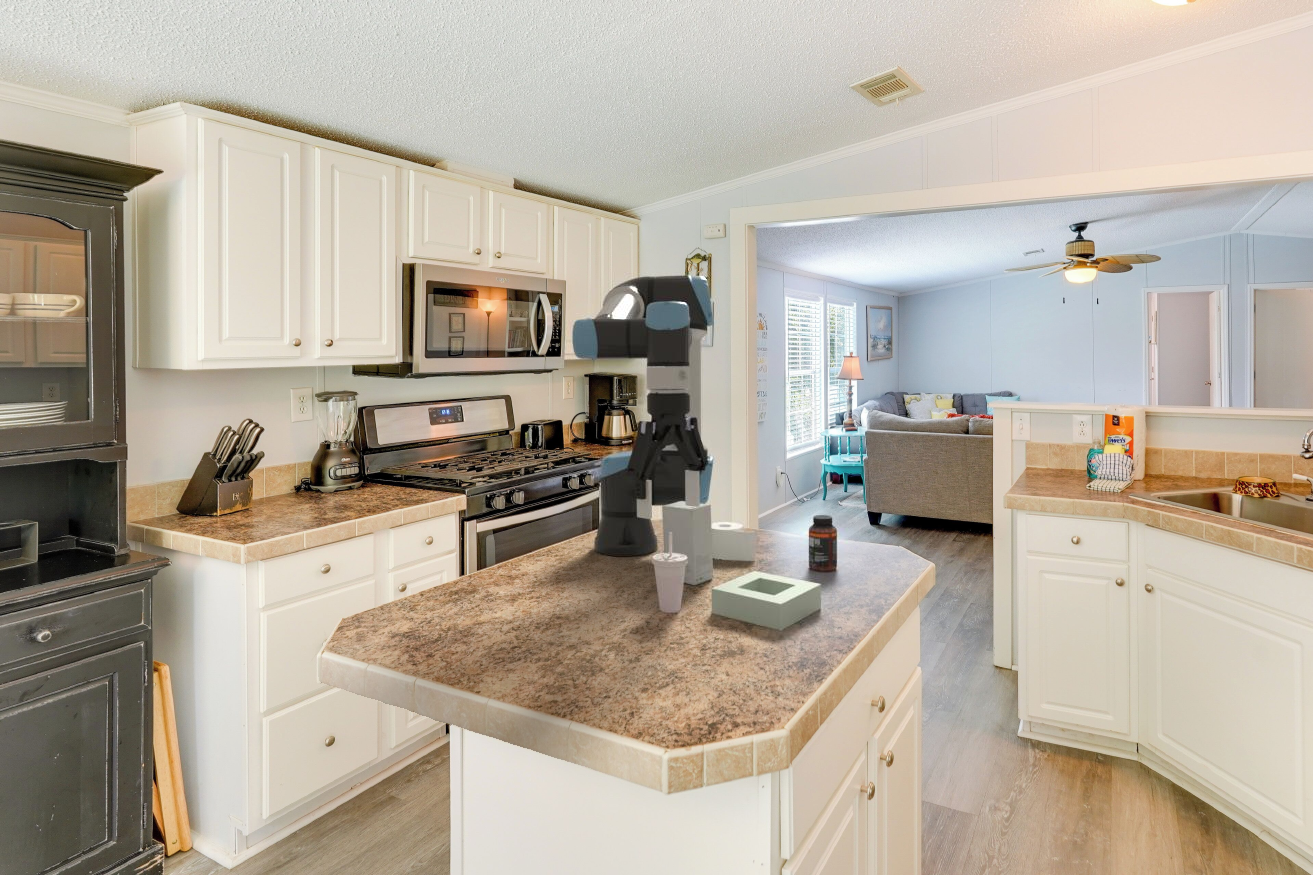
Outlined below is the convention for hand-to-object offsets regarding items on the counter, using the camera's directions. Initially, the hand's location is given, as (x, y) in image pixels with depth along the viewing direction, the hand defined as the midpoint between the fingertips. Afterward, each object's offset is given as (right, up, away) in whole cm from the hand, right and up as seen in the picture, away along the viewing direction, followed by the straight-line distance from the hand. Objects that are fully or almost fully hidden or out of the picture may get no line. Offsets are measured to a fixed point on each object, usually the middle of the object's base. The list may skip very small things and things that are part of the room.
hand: (669, 511), depth 132 cm
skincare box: (+4, -16, +21) cm, 27 cm away
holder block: (+17, -18, +1) cm, 25 cm away
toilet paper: (+15, -14, +38) cm, 43 cm away
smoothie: (0, -18, +2) cm, 18 cm away
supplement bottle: (+33, -15, +27) cm, 46 cm away
